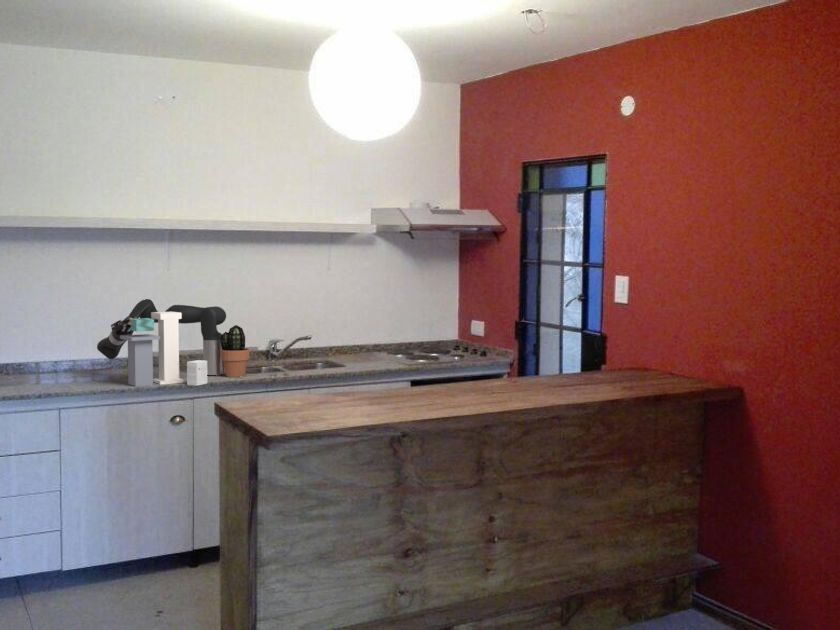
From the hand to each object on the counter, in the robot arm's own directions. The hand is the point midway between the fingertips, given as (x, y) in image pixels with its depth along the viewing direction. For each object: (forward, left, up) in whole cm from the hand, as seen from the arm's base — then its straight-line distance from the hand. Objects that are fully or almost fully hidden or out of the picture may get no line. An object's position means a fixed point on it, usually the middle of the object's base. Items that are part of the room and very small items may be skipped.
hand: (132, 318), depth 384 cm
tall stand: (-13, +8, -30) cm, 33 cm away
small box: (-21, +22, -30) cm, 42 cm away
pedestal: (0, +8, -30) cm, 31 cm away
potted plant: (-46, +10, -30) cm, 56 cm away
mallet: (0, +4, -4) cm, 6 cm away
